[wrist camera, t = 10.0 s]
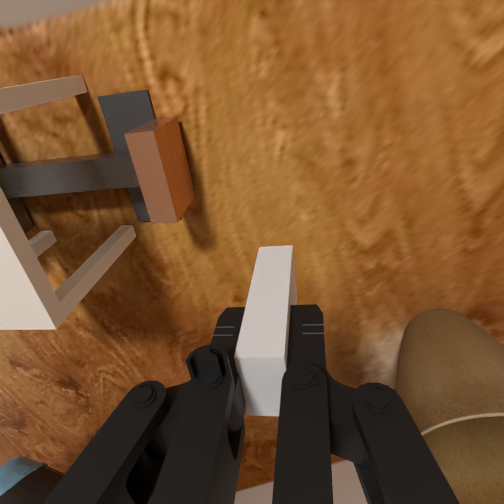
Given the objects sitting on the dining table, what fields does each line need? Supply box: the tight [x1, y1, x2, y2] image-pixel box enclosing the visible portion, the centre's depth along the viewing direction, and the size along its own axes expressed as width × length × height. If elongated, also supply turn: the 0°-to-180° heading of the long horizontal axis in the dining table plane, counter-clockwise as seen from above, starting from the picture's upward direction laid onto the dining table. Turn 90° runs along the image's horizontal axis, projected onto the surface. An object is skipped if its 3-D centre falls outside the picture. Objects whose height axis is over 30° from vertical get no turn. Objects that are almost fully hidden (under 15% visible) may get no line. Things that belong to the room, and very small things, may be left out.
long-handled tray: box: [0, 116, 196, 233], centre depth 36 cm, size 12×33×6 cm, turn 98°
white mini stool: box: [0, 75, 156, 330], centre depth 31 cm, size 17×18×16 cm
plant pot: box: [396, 309, 504, 504], centre depth 36 cm, size 15×15×16 cm
